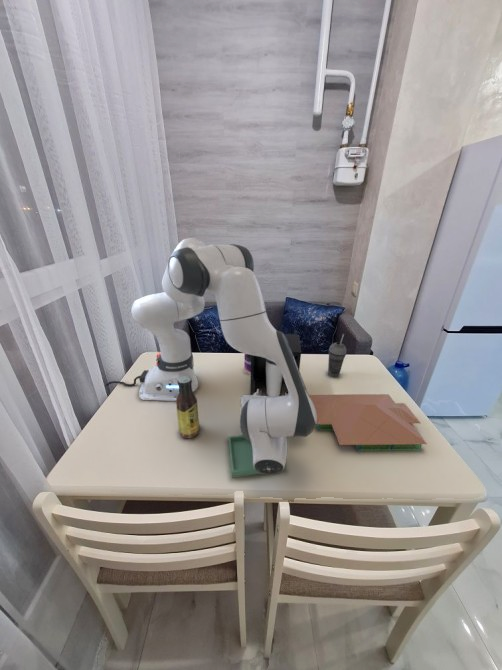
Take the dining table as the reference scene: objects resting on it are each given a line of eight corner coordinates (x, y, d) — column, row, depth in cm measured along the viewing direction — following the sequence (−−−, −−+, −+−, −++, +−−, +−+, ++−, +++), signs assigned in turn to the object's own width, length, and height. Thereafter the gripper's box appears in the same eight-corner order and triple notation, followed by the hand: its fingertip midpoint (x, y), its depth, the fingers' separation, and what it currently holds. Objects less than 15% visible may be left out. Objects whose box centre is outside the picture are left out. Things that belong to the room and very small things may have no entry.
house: (433, 451, 78) (441, 431, 75) (322, 452, 77) (326, 432, 74) (393, 401, 99) (399, 383, 95) (306, 401, 98) (308, 383, 94)
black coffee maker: (295, 403, 97) (301, 349, 87) (250, 399, 99) (250, 346, 89) (294, 381, 110) (299, 331, 100) (254, 378, 111) (255, 329, 102)
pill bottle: (240, 369, 117) (240, 340, 111) (255, 364, 122) (255, 336, 115) (251, 378, 111) (252, 348, 105) (266, 372, 116) (267, 342, 110)
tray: (232, 477, 70) (231, 472, 69) (228, 441, 81) (228, 436, 80) (283, 470, 72) (284, 465, 71) (273, 436, 83) (273, 431, 82)
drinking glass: (277, 401, 98) (279, 367, 91) (261, 395, 101) (262, 361, 95) (284, 392, 103) (287, 359, 97) (269, 386, 106) (271, 354, 100)
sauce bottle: (195, 440, 81) (189, 388, 72) (176, 437, 82) (168, 385, 73) (202, 425, 86) (198, 375, 78) (185, 422, 88) (178, 372, 79)
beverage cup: (328, 368, 119) (334, 328, 110) (344, 373, 115) (352, 332, 107) (322, 375, 114) (328, 334, 105) (338, 381, 110) (346, 338, 101)
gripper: (309, 415, 74) (305, 386, 86) (237, 409, 76) (243, 381, 88) (306, 432, 76) (303, 401, 89) (237, 426, 78) (243, 396, 91)
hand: (273, 391), depth 89 cm, fingers open, 8 cm apart
